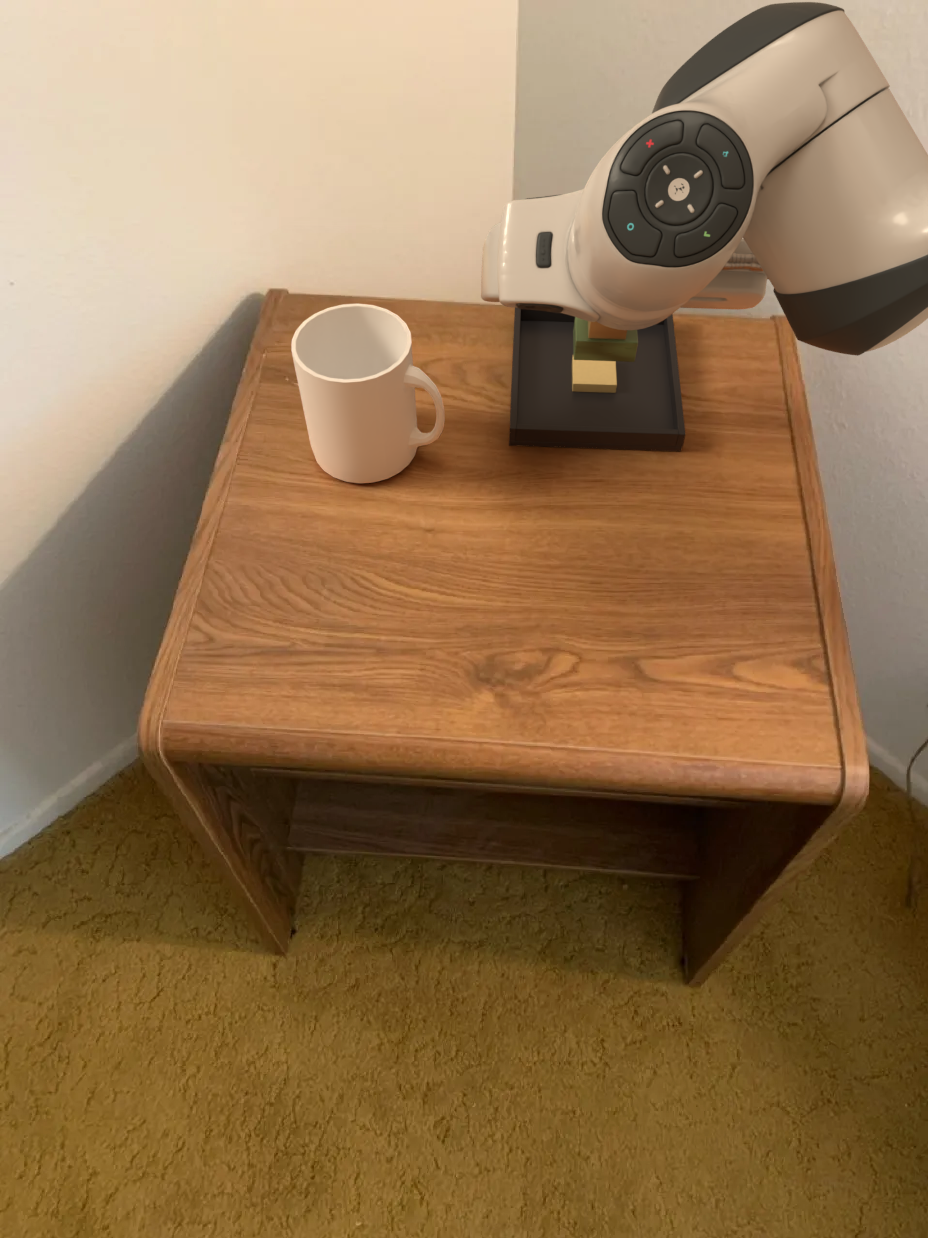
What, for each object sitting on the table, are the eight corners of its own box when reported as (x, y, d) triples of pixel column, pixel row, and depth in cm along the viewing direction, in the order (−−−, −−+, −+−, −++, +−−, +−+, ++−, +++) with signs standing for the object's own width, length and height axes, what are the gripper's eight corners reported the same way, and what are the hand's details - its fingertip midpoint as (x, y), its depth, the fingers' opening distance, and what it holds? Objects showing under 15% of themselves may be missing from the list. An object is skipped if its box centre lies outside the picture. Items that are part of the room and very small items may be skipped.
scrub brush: (632, 333, 78) (650, 236, 70) (634, 362, 76) (652, 265, 68) (573, 331, 78) (584, 234, 70) (573, 360, 76) (584, 263, 68)
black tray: (668, 325, 91) (672, 307, 89) (681, 451, 81) (685, 434, 80) (514, 321, 92) (514, 303, 90) (508, 445, 82) (509, 428, 80)
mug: (320, 409, 85) (300, 302, 75) (450, 413, 84) (447, 305, 75) (305, 486, 80) (282, 381, 70) (444, 490, 79) (440, 384, 69)
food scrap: (614, 364, 87) (615, 355, 86) (615, 393, 85) (617, 384, 84) (571, 362, 87) (572, 354, 86) (572, 391, 85) (573, 383, 84)
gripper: (802, 208, 59) (746, 253, 72) (480, 199, 59) (484, 245, 73) (792, 312, 60) (739, 337, 73) (476, 302, 60) (481, 328, 74)
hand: (610, 291), depth 73 cm, fingers closed on scrub brush, 3 cm apart
